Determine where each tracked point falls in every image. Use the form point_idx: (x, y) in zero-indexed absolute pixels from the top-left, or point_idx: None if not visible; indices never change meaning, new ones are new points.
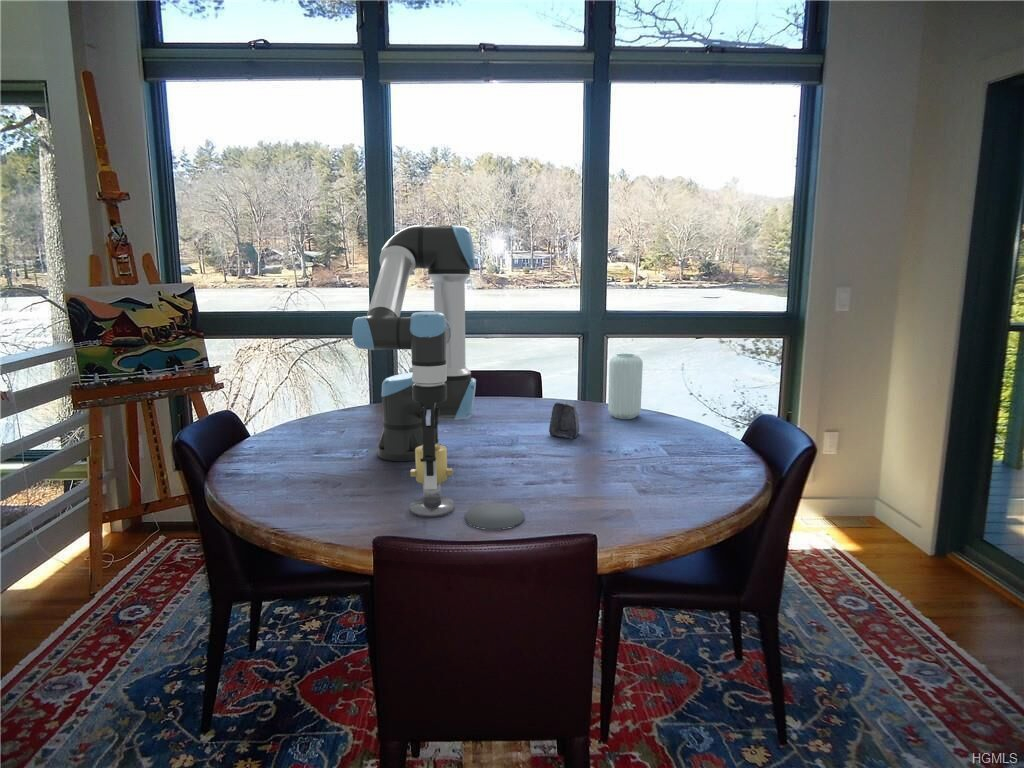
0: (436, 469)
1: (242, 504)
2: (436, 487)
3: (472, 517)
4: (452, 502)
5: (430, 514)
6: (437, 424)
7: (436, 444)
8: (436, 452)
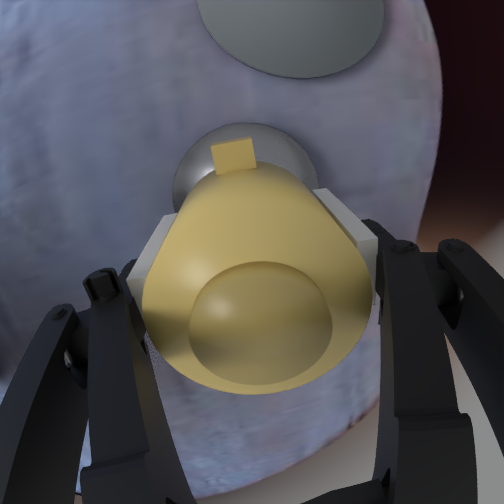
0: (342, 217)
1: (258, 474)
2: (327, 190)
3: (329, 53)
4: (220, 133)
5: (318, 186)
6: (447, 466)
7: (228, 308)
8: (350, 265)
